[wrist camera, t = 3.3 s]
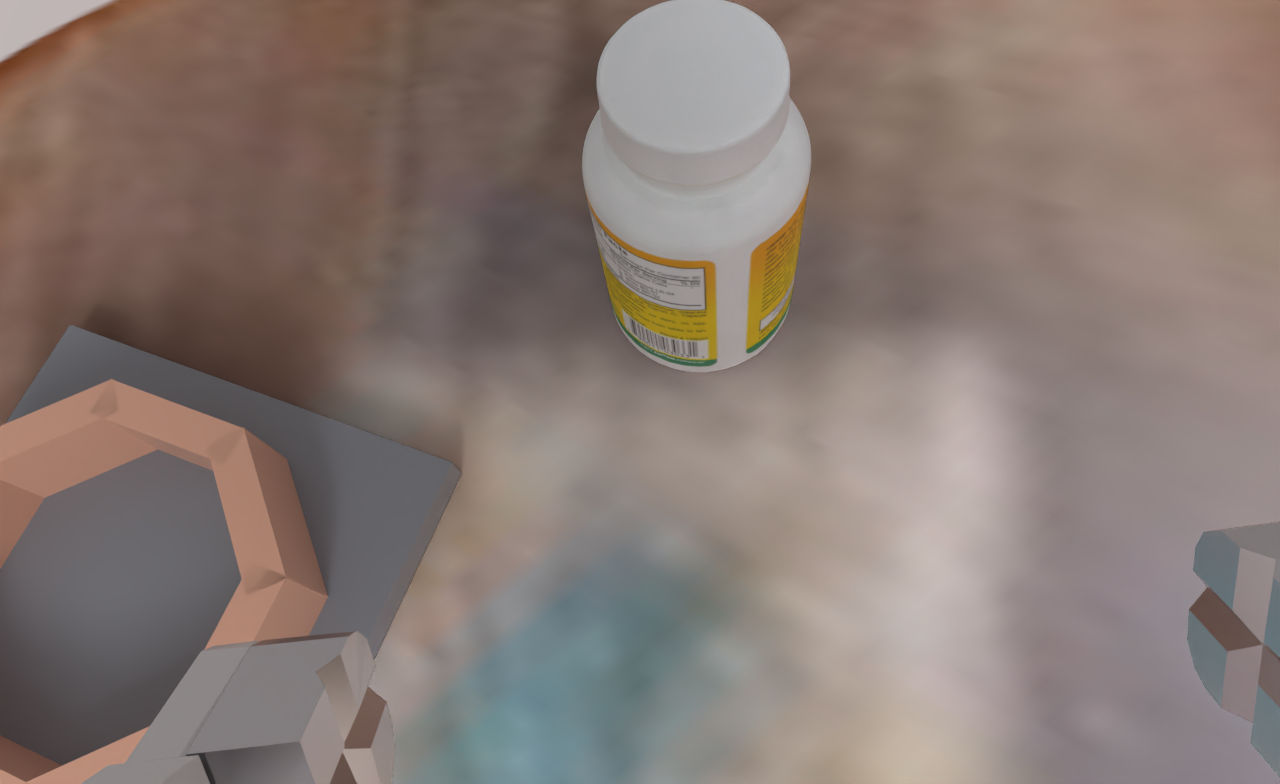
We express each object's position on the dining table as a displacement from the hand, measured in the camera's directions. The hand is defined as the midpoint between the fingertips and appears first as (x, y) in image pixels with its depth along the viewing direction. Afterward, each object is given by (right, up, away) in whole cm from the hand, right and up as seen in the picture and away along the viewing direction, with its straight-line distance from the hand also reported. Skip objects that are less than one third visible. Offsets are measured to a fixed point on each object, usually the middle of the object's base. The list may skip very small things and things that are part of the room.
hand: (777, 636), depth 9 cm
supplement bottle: (+1, +5, +19) cm, 20 cm away
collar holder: (-15, -4, +16) cm, 22 cm away
